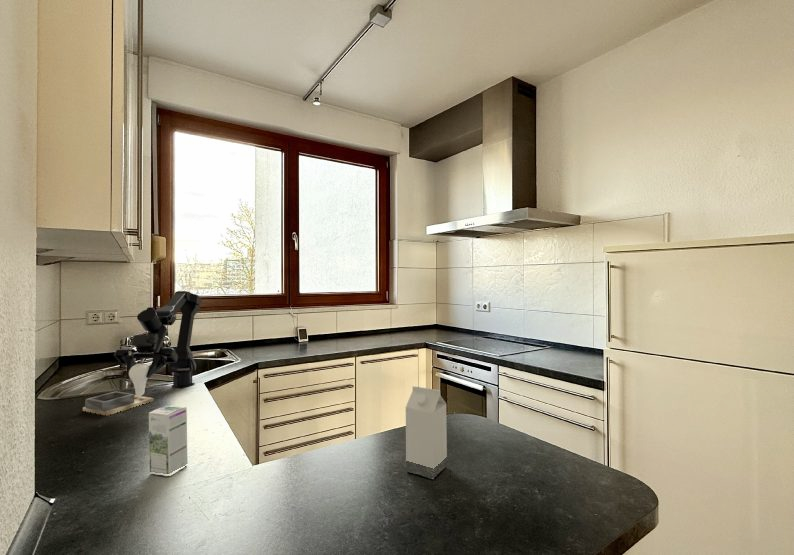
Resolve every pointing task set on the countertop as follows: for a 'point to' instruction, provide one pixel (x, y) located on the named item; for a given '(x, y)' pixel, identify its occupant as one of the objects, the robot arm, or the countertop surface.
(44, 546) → the countertop surface
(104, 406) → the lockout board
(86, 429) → the countertop surface
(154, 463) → the syrup box
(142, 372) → the lightbulb
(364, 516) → the countertop surface
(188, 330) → the robot arm
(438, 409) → the milk carton
